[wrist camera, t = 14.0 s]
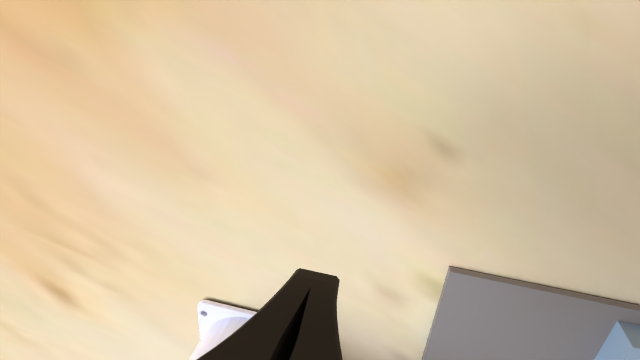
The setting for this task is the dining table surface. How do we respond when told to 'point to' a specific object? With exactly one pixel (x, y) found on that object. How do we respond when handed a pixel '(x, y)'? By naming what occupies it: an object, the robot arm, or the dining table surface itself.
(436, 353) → the mat
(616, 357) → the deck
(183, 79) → the dining table surface
